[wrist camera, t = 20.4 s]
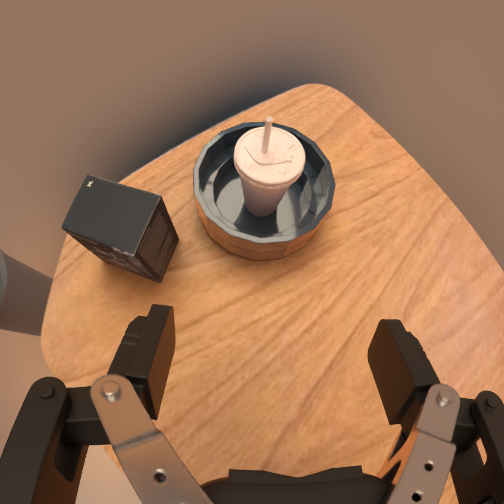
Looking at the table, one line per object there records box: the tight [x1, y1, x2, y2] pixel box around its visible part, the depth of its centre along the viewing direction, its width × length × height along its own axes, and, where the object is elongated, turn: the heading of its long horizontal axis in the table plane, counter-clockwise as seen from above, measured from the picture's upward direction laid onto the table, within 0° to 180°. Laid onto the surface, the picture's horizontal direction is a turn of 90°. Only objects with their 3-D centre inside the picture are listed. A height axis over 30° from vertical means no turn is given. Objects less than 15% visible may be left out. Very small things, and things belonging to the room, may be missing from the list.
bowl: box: [193, 122, 335, 260], centre depth 34 cm, size 14×14×6 cm
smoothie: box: [234, 117, 305, 217], centre depth 30 cm, size 6×6×14 cm
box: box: [62, 175, 179, 283], centre depth 29 cm, size 8×6×11 cm
